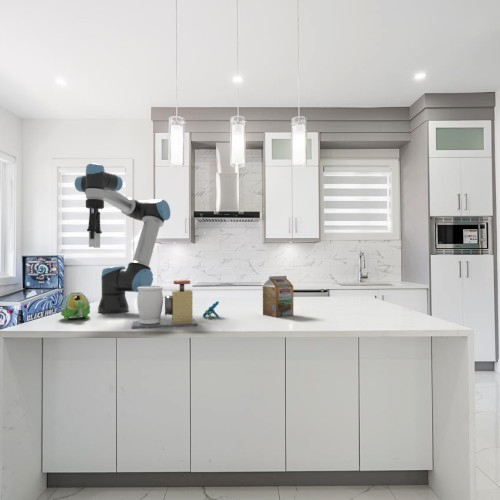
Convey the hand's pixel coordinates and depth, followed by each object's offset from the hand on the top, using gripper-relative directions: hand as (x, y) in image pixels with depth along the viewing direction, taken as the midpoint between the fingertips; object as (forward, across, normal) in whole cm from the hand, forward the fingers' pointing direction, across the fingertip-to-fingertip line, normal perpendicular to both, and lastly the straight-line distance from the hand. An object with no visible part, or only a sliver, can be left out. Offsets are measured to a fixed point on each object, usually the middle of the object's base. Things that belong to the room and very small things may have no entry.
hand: (94, 247), depth 173 cm
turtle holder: (+33, -10, -9) cm, 36 cm away
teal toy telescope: (+33, +1, +51) cm, 61 cm away
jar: (+32, +16, +24) cm, 43 cm away
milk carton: (+33, +3, +84) cm, 90 cm away
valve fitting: (+33, +16, +31) cm, 48 cm away
